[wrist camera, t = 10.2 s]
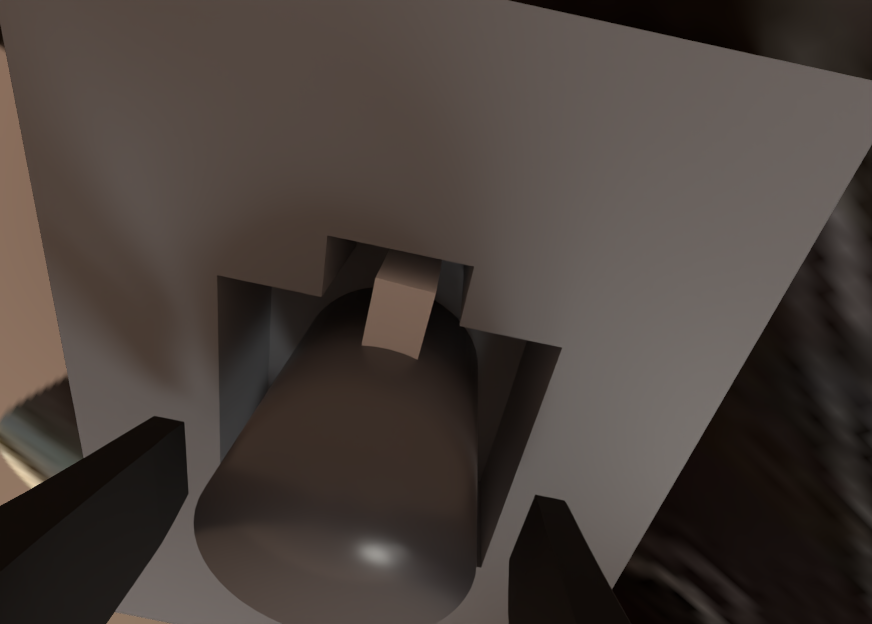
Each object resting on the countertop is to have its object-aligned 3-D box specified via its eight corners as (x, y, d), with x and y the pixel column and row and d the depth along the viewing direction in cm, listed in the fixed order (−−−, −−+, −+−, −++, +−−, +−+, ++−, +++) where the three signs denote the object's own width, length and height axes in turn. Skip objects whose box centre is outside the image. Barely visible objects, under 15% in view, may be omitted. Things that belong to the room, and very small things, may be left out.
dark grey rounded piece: (452, 451, 15) (436, 662, 10) (294, 412, 15) (191, 605, 10) (519, 262, 12) (549, 417, 7) (323, 210, 12) (197, 328, 7)
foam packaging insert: (535, 580, 19) (548, 698, 16) (182, 508, 19) (113, 611, 15) (765, 80, 11) (904, 88, 7) (142, -57, 11) (-27, -118, 7)
